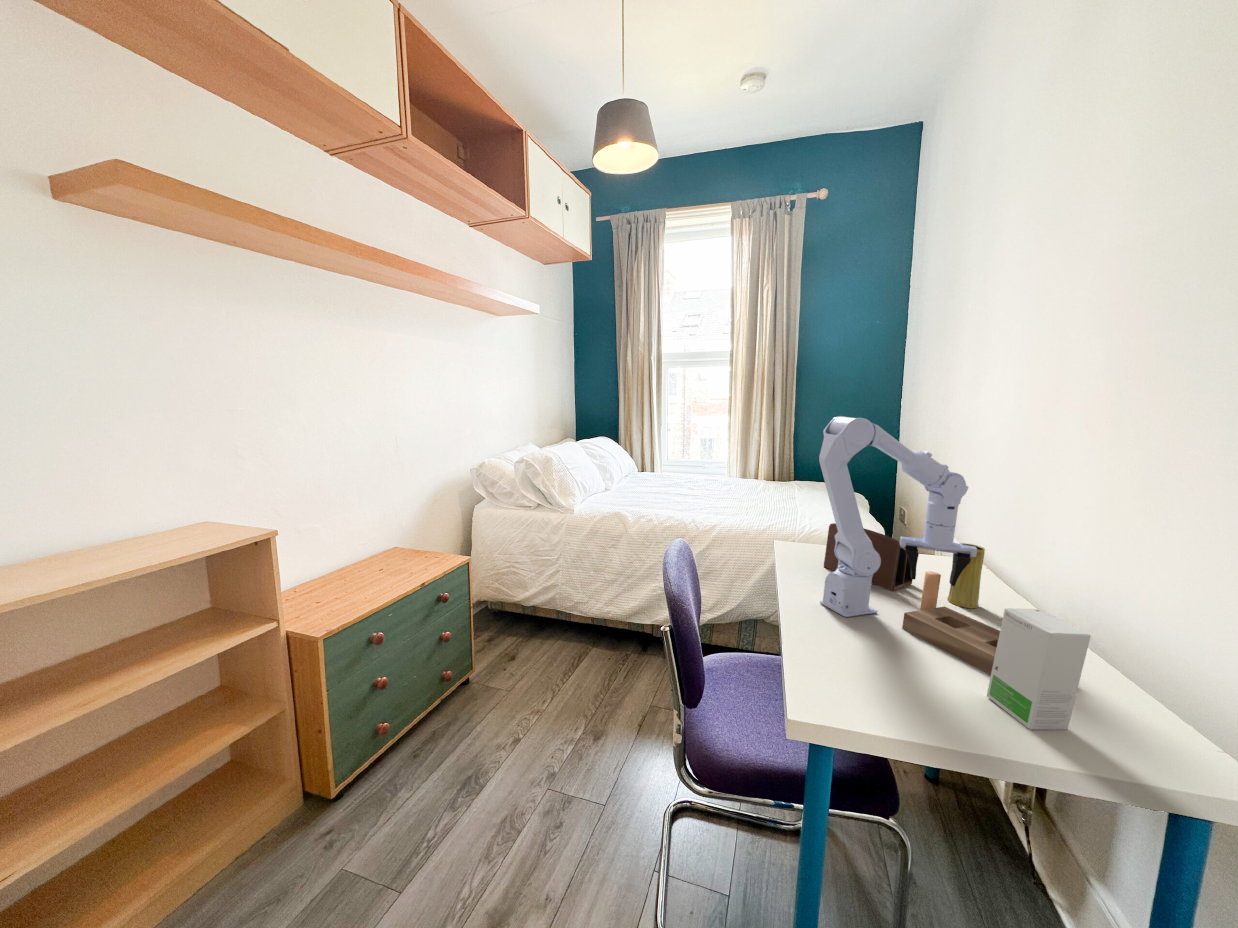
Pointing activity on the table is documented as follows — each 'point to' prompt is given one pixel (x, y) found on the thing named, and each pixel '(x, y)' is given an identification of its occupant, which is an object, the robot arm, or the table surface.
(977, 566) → the vase
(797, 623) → the table surface
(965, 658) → the hole block
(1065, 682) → the skincare box
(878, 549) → the letter holder
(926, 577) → the peg
